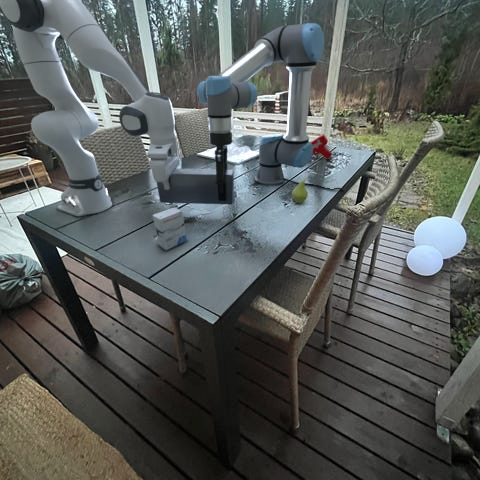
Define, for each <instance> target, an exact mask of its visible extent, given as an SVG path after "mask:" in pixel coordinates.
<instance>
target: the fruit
mask: <svg viewBox="0 0 480 480" xmlns="http://www.w3.org/2000/svg"><path fill="white" fill-rule="evenodd" d="M310 177H311V175H310V174H309V175H308V176H307V177H305V179H302V180H301V181H300V182H298V183H299V184H297V185H296V186H295V187H294V188H293V190H292V191H291V198H292V200H293V201H294V202H295V203H297V204H301V203H304V202H305V201H306V200H307V198H308V196H309V195H308V190H307V189H306V185H305V183H306V180H308V179H309V178H310Z"/></svg>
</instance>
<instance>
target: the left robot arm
mask: <svg viewBox="0 0 480 480" xmlns="http://www.w3.org/2000/svg"><path fill="white" fill-rule="evenodd" d="M0 12H1V14H2V16H3V17H4V18H5V20H6V21H7V22H8V24H10V25H11V26H12V27H13V28H12V34H13V39H14V42H15V46H16V49H17V52H18V55H19V57H20V60H21V62H22V65H23V68H24V69H25V71H26V74H27V76H28V78H29V81H30V83H31V85H32V87H33V90H34V91H35V93H37V94H38V95H39V96H41V97H43V98H45V99H47V101H49V102H50V103H51V104H52V106H53V107H54V109H53V110H48V111H47V110H46V111H44V112H41V113H39V114H38V115H35V116H34V117H33V118H32V119H31V122H30V126H31V131H32V133H33V135H34V136H35V138H36V139H37V140H38V141H39V142H40V143H42V144H44V145H45V146H48V147H50V148H51V149H52V150H53V151H55V152H56V154H57V155H58V156H59V158H60V159H61V161H62V163H63V165H64V168H65V171H66V173H67V175H68V177H67V178H65V179H64V180H65V182H68V185H67V188H66V189H65V190H64V191H63V192H61V194H60V200H61V203H60V204H59V205H57V210H58V211H61V212H63V213H67V214H69V215H73V216H74V217H75V216H76V217H83V216H87V215H93V214H94V215H95V214H97V213H98V214H99V213H101V212H104V211H106V210H108V209H110V208H112V206H113V202H112V198H111V197H110V196H109V193H108V188H106V186H105V184H104V183H103V177H102V175H101V173H100V171H99V169H98V165H97V162H96V158H95V155H94V154H93V153H92V152H90V151H89V150H86V149H84V147H83V146H82V145H81V143H80V141H79V140H81V139H84V138H89V137H90V136H92V135H93V134H95V133H96V132H97V131H98V129H99V126H100V123H99V118H98V116H97V115H96V113H95V112H94V111H93V110H92V109H90V108H88V106H86V105H85V104H84V103H83V102H82V101H81V100H80V98H79V97H78V96H77V94H76V92H75V91H74V89H73V88H72V86H71V83H70V82H69V79H68V76H67V73H66V71H65V69H64V66H63V63H62V60H61V57H60V55H59V54H58V51H57V48H56V41H57V40H56V39H59V40H61V41H65V43H66V44H67V46H68V47H69V49H70V51H71V52H72V54H73V55H74V57H75V58H76V59H77V60H78V61H79V62H80V63H81V64H82V65H83V66H84V67H85V68H87V69H88V70H91V71H93V72H95V73H99V74H102V75H104V76H107V77H109V78H112V79H113V80H115V81H117V82H118V83H119V84H120V85H121V86H122V87H123V89H125V91H126V92H127V94H128V95H129V96H130V98H131V99H132V101H134V102H132V103H129V104H127V105H125V106H122V108H121V109H120V110H119V113H118V119H119V124H120V126H121V128H122V129H123V131H124V132H125V133H126V134H128V135H129V136H131V137H139V136H144V135H148V137H149V148H148V150H147V158H148V159H150V160H149V161H150V163H149V164H150V168H151V169H150V170H151V173H152V177H153V180H154V181H155V183H157V182H162V183H163V184H164V189H165V190H169V189H170V184H169V181H168V180H169V177H170V176H171V173H172V172H173V171H174V170H175V168H177V169H178V167H179V166H180V163H181V162H180V161H181V160H180V155H179V145H178V144H179V143H178V136H177V134H176V130H175V125H176V120H175V114H174V109H173V105H172V104H173V103H172V101H171V99H170V97H169V96H167V95H166V94H164V93H161V92H154V91H149V89H148V88H147V86H146V84H144V83H143V81H142V80H141V79H140V77H139V75H138V74H137V73H136V71H135V70H134V69H133V67H132V66H131V65H130V64H129V61H127V59H125V58H124V56H122V55H121V53H120V52H119V51H118V50H117V49H116V47H115V46H114V45H113V44H112V43H111V41H110V40H109V39H108V37H107V35H105V33H104V31H103V29H102V28H101V27H100V25H99V24H98V22H97V20H96V19H95V18H94V16H93V15H92V13H91V12H90V10H89V9H88V8H87V7H86V5H84V3H83V2H82V1H81V0H0Z"/></svg>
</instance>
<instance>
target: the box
mask: <svg viewBox="0 0 480 480" xmlns="http://www.w3.org/2000/svg"><path fill="white" fill-rule="evenodd" d="M234 177H235V176H234V169H232V168H231V169H228V168H227V169H225V183H226V201H219V200H218V184H215V182H217V177H216V168H178V167H177V168H175V170H174V171H173V172H172V173H171V176H170V177H169V180H168V181H169V184H170V189H169V190H165V189H164V184H163V183H162V182H156V186H157V187H156V188H157V191H158V192H157V193H158V197H159V203H160V204H191V205H192V204H194V205H195V204H197V205H233V204H234V199H235V187H234V186H235V185H234V184H235V183H234V179H235V178H234Z"/></svg>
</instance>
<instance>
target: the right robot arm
mask: <svg viewBox="0 0 480 480" xmlns="http://www.w3.org/2000/svg"><path fill="white" fill-rule="evenodd" d="M324 51H325V35H324V32H323V29H322V27H321V26H320V25H319V23H315V22H313V23H312V22H306V23H299V24H290V25H281V26H279V27H277V28H275V29H273V30H271V31H269V32H268V33H266V34H265V35H263V36H262V37H261V38H260V39H258V40H257V41H256V42H255V44H254V46H253V48H251V49H250V50H249V51H247V52H246V53H244V54H243V55H242V56H240V58H238V59H237V60H235V62H233V63H232V64H231V65H229V66H228V67H227V68H225V69H224V70H223V71H222V72H220V73H219V74H218V75H209V76H207V78H206V80H203V81H200V82H199V83H198V86H197V88H196V94H197V98H198V100H199V102H201V103H202V104H204V105H206V107H207V120H206V123H207V124H208V130H209V132H208V137H209V144H210V145H212V146H216V147H217V148H216V147H215V148H216V150H215V159H216V160H215V159H214V160H215V169H216V177H217V182H215V184H218V200H219V201H226V183H225V169H228V162H227V152H228V148H227V145H229V144H231V143H232V142H233V132H232V130H233V115H232V112H233V110H235V109H236V110H237V109H243V108H246V109H247V108H249V107H252V106H254V105H255V104H256V102H257V100H258V89H257V87H256V85H255V84H254V83H253V82H251V81H249V79H251V78H253V77H254V76H255V75H256V74H257V73H258V72H259V71H261V70H262V69H263V68H264V67H265V68H266V67H269V66H271V65H272V64H274V63H278V62H279V63H280V62H285V63H286V69H287V70H288V71H289V84H288V102H287V103H288V105H287V123H286V134H283V133H271V134H266V135H263V136H261V137H260V139H259V145H258V146H259V151H258V152H259V156H258V157H259V158H258V167H257V171H256V172H255V177H254V181H255V183H258V184H259V185H262V186H263V185H264V186H279V185H281V184H283V183H284V181H286V182H289V183H292V184H295V185H298V184H299V183H300V182H298V181H294V180H291V179H288V178H285V175H284V172H283V171H284V170H283V167H282V165H284V166H289V167H292V168H298V169H302V168H304V167H305V166H307V165H308V163H309V162H310V160H311V158H312V156H313V153H312V152H313V145H312V144H311V143H310V141H309V140H310V136H309V135H308V134H307V127H308V118H309V117H308V115H309V106H310V94H311V84H312V83H311V82H312V73H313V70H314V69H315V68H316V67H317V62H318V61H320V60H321V59H322V57H323V54H324ZM314 184H316V183H308V182H307V183H306V182H305V186H313V187H317V188H320V189H324V190H327V191H336V190H337V191H341V192H345V190H344V189H343V188H342V187H333V188H334V189H330V188H331V187H327V188H325V187H326V186H324V187H322V186H323V185H321V186H319V185H320V184H316V185H314Z"/></svg>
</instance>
